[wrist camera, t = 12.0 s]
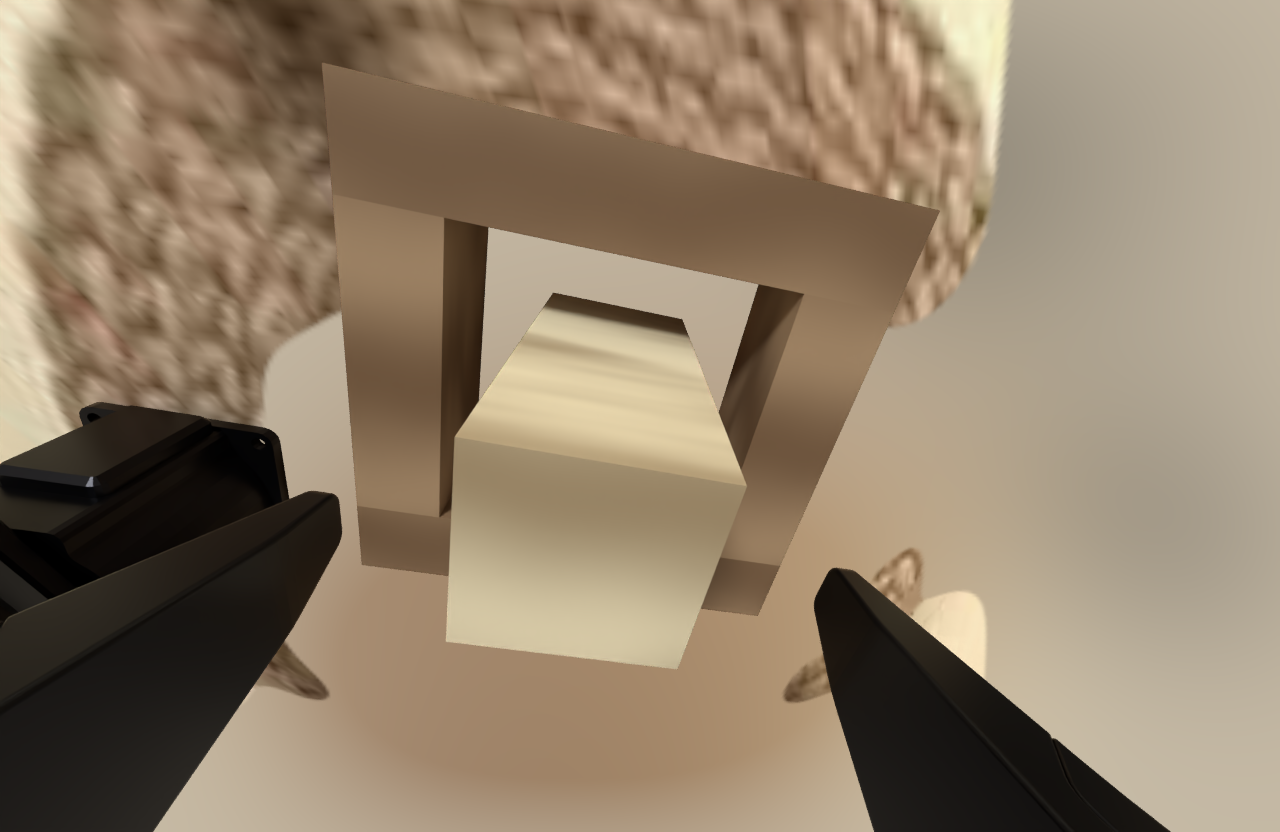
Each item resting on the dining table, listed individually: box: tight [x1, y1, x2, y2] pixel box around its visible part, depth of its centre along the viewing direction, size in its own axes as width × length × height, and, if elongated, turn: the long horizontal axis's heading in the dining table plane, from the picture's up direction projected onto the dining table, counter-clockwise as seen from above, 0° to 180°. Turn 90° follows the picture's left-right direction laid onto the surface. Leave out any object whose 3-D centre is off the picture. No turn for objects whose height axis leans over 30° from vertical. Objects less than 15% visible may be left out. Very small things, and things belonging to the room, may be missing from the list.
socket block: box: [322, 63, 940, 616], centre depth 15 cm, size 14×14×4 cm
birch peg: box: [446, 293, 747, 669], centre depth 13 cm, size 4×4×10 cm
